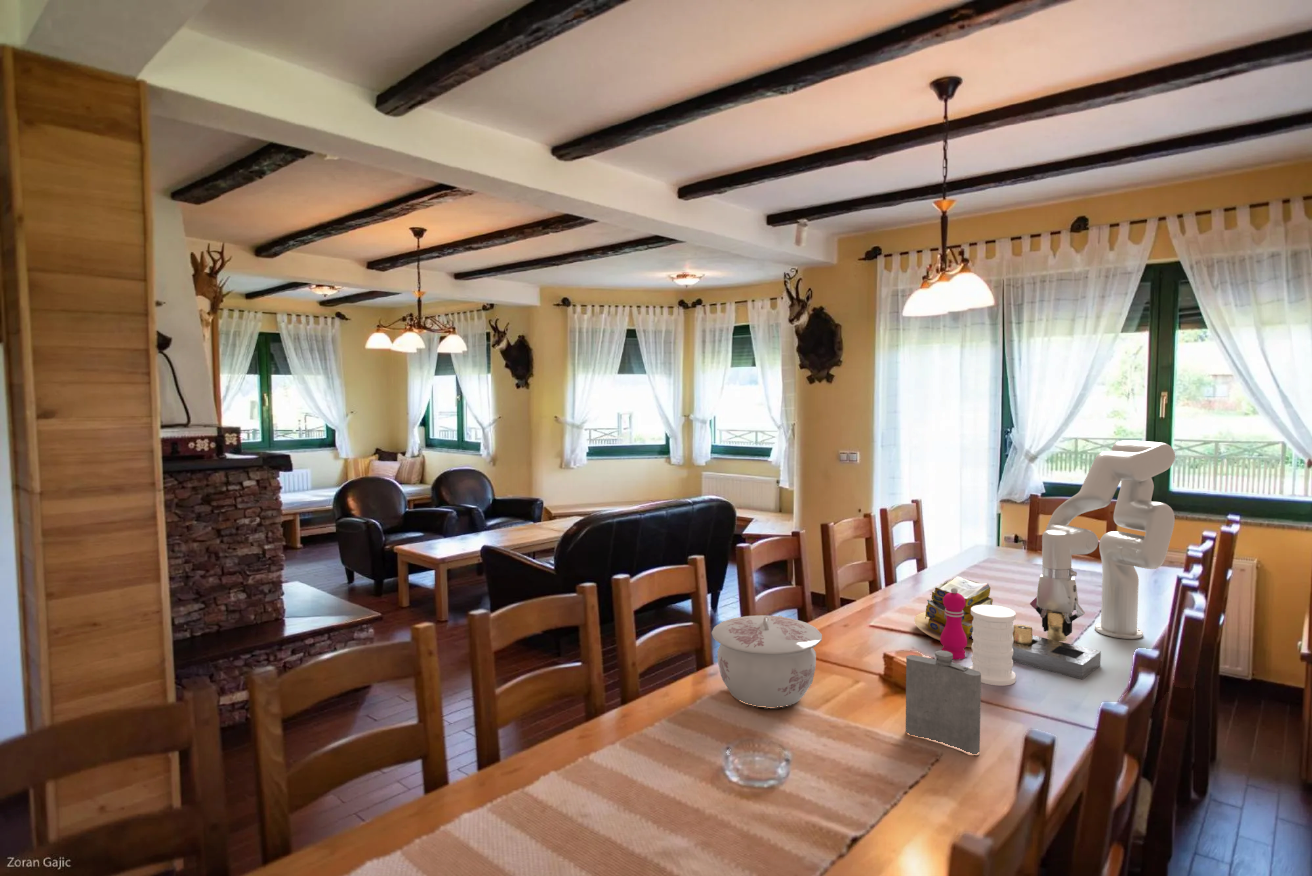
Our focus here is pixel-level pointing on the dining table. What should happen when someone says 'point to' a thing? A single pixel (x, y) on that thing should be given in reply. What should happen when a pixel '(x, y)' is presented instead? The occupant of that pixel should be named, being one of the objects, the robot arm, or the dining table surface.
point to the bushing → (1055, 625)
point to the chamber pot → (767, 658)
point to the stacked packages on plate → (935, 610)
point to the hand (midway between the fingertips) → (1056, 632)
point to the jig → (1053, 654)
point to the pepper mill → (954, 625)
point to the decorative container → (993, 644)
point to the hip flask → (943, 701)
